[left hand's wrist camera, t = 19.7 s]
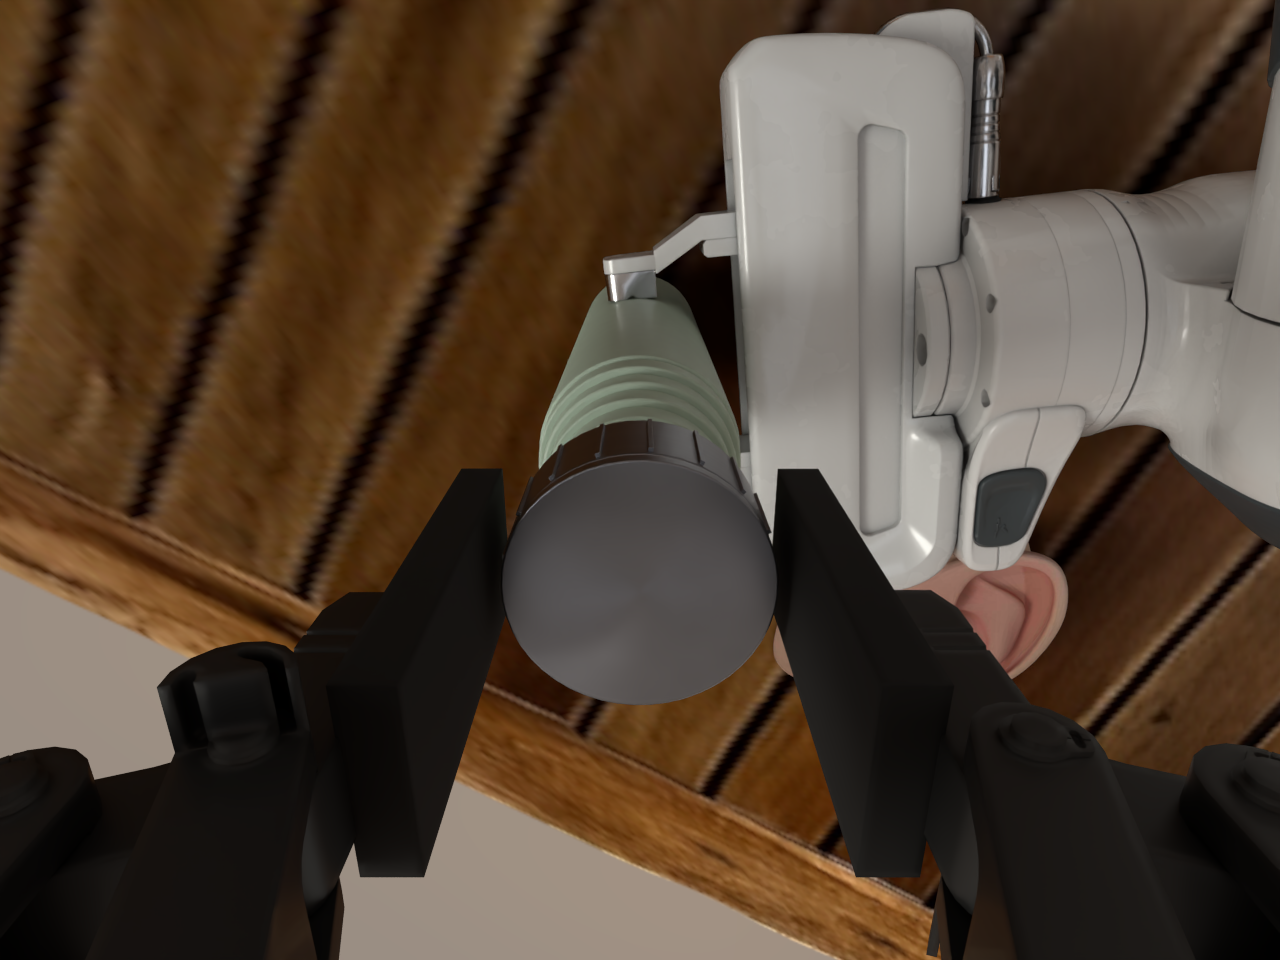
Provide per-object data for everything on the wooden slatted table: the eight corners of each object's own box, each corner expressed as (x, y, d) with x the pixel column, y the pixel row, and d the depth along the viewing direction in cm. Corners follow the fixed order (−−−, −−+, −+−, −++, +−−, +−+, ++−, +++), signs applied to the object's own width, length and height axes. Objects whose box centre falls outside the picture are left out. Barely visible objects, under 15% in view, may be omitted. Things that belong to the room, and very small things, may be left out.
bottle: (708, 291, 34) (826, 478, 12) (677, 395, 36) (734, 719, 14) (599, 261, 34) (527, 402, 12) (574, 368, 35) (469, 661, 14)
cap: (504, 620, 15) (483, 687, 13) (531, 397, 14) (512, 434, 12) (732, 653, 16) (745, 724, 13) (786, 438, 14) (812, 482, 12)
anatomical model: (781, 751, 38) (797, 545, 34) (768, 701, 42) (781, 510, 38) (1045, 750, 38) (1094, 544, 34) (1009, 699, 42) (1049, 508, 38)
